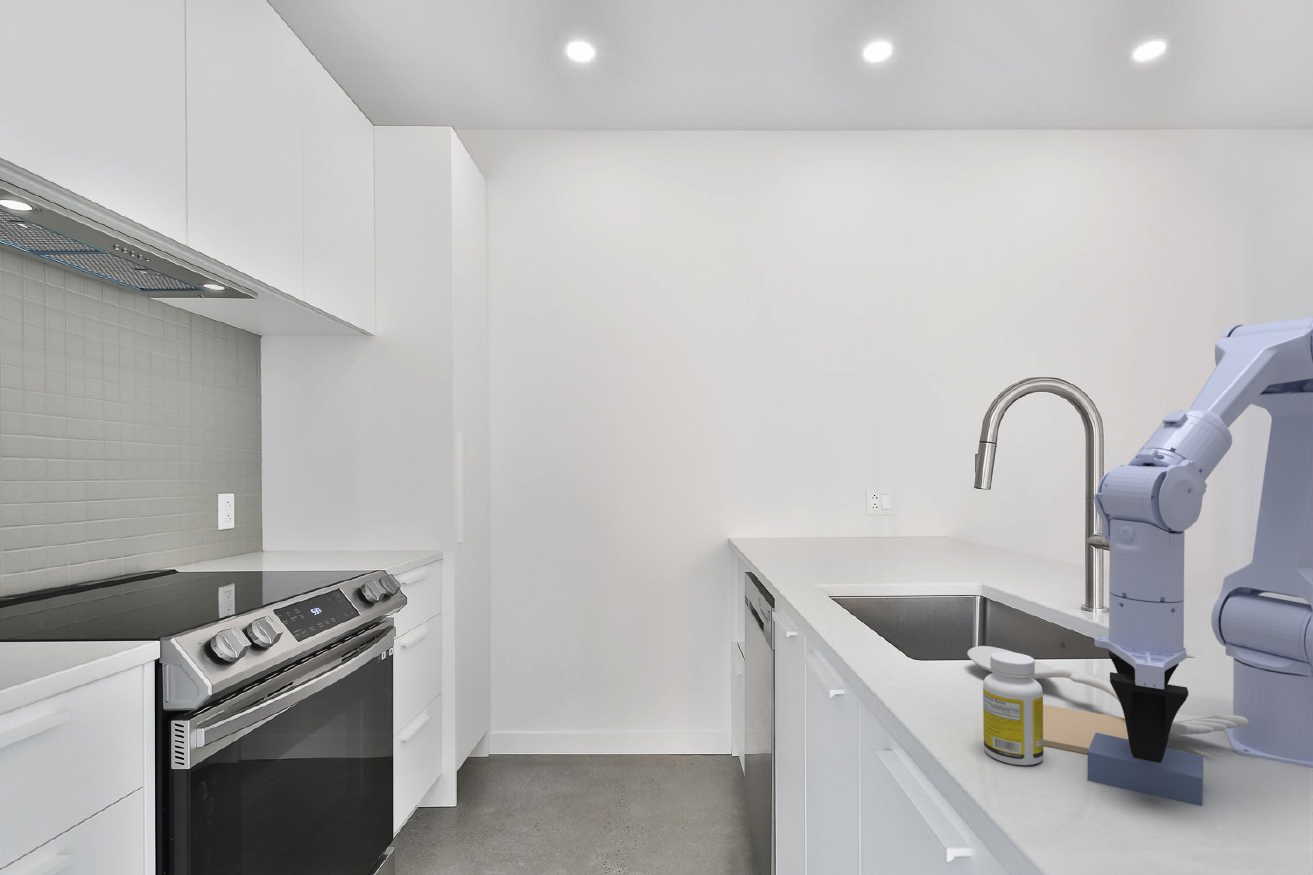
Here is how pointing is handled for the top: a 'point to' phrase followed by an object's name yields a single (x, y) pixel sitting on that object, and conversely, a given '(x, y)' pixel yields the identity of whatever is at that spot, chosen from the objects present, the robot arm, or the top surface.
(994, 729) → the supplement bottle
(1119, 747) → the card box
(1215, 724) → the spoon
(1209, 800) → the top surface
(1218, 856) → the top surface
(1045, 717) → the flat tan board
